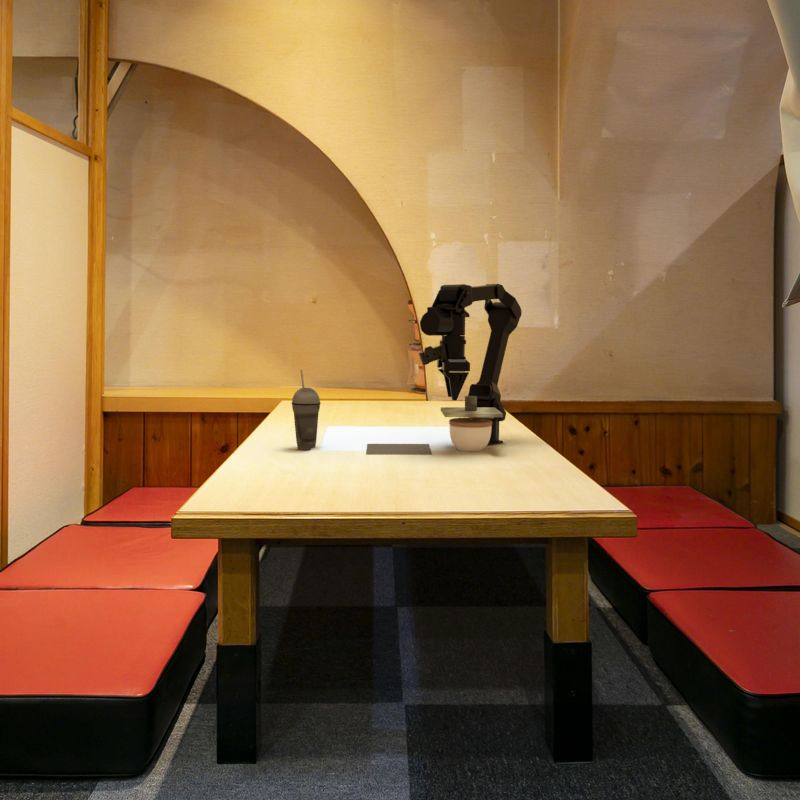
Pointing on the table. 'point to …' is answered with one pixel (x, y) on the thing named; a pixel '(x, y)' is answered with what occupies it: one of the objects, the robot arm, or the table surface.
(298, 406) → the beverage cup
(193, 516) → the table surface
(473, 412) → the lid
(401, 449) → the mat
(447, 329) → the robot arm
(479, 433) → the lidded jar
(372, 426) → the table surface
